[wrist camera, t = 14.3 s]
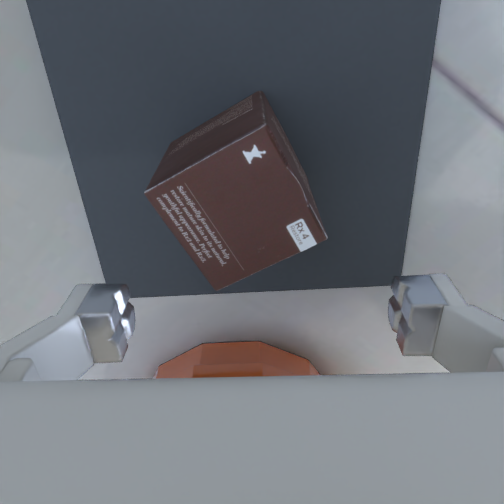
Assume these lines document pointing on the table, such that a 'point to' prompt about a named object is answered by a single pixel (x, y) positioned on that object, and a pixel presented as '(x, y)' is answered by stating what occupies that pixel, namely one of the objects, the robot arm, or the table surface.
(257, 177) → the box
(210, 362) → the ring
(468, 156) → the table surface
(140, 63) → the mat
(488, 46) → the table surface
